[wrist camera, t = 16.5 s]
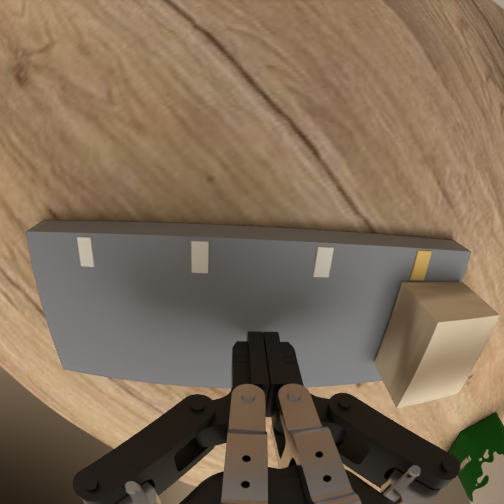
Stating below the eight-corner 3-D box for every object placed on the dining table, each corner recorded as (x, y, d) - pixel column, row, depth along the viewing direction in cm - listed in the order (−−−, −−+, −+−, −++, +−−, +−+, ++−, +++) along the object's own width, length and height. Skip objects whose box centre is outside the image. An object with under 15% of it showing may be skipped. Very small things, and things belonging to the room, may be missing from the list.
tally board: (43, 220, 15) (24, 232, 13) (453, 240, 17) (472, 252, 15) (73, 351, 19) (62, 370, 17) (411, 357, 21) (423, 375, 19)
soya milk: (457, 430, 29) (511, 539, 10) (502, 405, 28) (559, 498, 10) (439, 459, 32) (480, 554, 14) (483, 436, 32) (527, 521, 13)
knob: (401, 282, 16) (438, 322, 12) (462, 282, 16) (499, 315, 12) (374, 363, 18) (396, 408, 14) (432, 356, 18) (458, 393, 15)
